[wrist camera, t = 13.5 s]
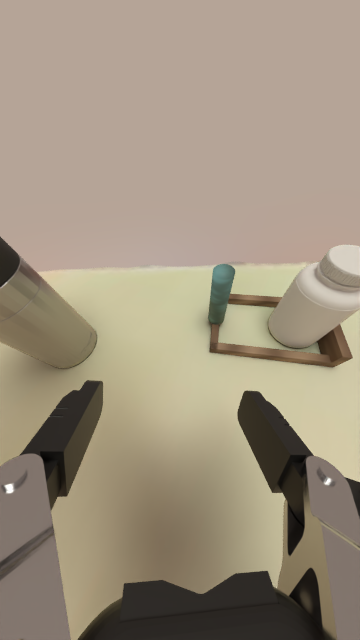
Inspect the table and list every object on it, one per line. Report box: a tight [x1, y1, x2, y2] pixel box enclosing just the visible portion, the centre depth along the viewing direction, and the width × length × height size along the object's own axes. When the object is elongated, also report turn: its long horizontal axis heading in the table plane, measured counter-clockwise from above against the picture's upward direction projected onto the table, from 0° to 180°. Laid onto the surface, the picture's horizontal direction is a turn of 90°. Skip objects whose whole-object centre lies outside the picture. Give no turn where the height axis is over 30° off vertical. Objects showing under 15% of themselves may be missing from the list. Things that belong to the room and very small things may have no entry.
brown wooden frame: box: [208, 264, 353, 367], centre depth 26 cm, size 20×12×13 cm, turn 80°
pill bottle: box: [268, 245, 360, 348], centre depth 24 cm, size 8×8×15 cm
